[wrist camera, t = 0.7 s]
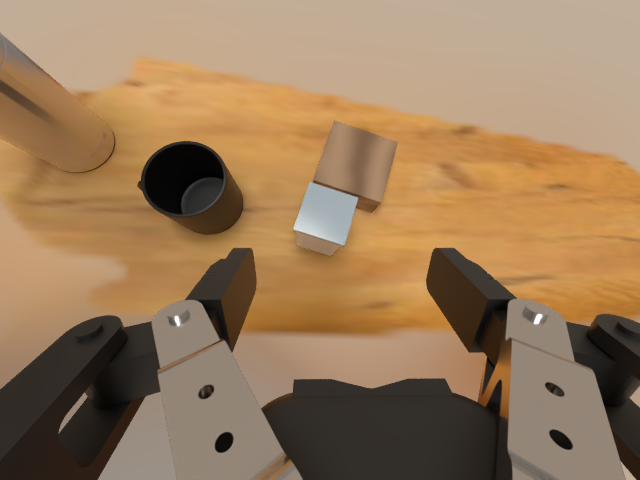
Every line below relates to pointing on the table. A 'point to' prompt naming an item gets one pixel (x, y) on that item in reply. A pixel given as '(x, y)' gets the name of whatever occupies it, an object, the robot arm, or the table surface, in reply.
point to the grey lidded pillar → (324, 219)
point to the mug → (192, 187)
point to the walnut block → (356, 164)
